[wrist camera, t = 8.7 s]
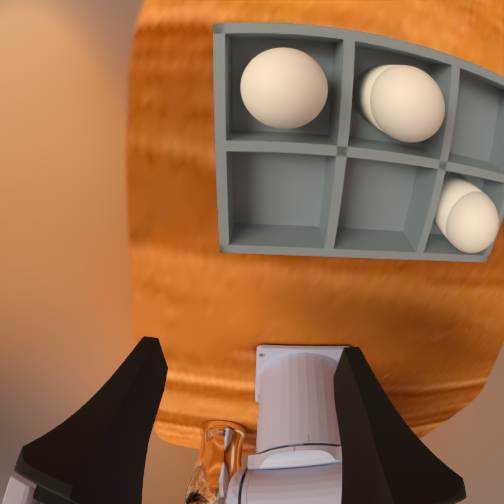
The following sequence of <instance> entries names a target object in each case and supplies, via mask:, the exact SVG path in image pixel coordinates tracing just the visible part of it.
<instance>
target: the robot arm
mask: <svg viewBox="0 0 504 504" xmlns="http://www.w3.org/2000/svg"><path fill="white" fill-rule="evenodd" d="M167 370H168V367H167V364H166V361H165V358H164V355H163V352H162V349H161V346H160V342H159V339H158V338H153V337H145V336H144V337H143V338H142V339H141V340H140V342H139V343H138V344H137V345H136V347H135V348H134V350H133V351H132V352H131V353H130V355H129V356H128V357H127V358H126V359H125V361H124V362H123V363H122V364H121V366H120V367H119V368H118V369H117V370H116V372H115V373H114V374H113V375H112V377H111V378H110V379H109V380H108V381H107V382H106V383H105V384H104V385H103V386H102V387H101V389H100V390H99V391H98V392H97V393H96V394H95V395H94V396H93V397H92V398H91V399H90V400H89V401H88V402H87V403H86V404H85V405H83V406H82V407H81V408H80V409H79V410H78V411H77V412H75V413H74V414H73V415H72V416H70V417H69V418H68V419H67V420H65V421H64V422H63V423H61V424H60V425H58V426H57V427H56V428H54V429H53V430H51V431H50V432H48V433H47V434H45V435H43V436H42V437H40V438H38V439H36V440H34V441H33V442H31V443H29V444H27V445H25V446H23V448H22V450H21V452H20V455H19V458H18V460H17V463H16V466H15V469H14V470H15V472H16V473H18V474H20V475H21V476H23V477H24V478H26V479H28V480H30V481H31V482H33V483H35V484H36V485H37V487H36V489H34V488H32V487H31V486H29V485H27V484H25V483H24V482H22V481H20V480H18V479H17V478H15V477H13V476H11V477H10V480H9V483H8V486H7V489H6V493H5V496H4V499H3V502H2V504H142V487H143V476H144V468H145V461H146V454H147V447H148V443H149V438H150V434H151V431H152V428H153V424H154V421H155V418H156V415H157V411H158V408H159V405H160V402H161V398H162V395H163V392H164V387H165V382H166V376H167ZM255 401H256V402H259V408H258V424H257V440H256V454H255V455H249V456H248V465H244V466H241V467H240V468H239V469H238V470H237V472H236V473H235V474H234V475H233V476H232V478H231V480H230V483H229V486H228V491H227V504H455V503H457V502H460V501H462V500H464V499H465V498H466V491H465V485H464V482H463V478H462V477H460V476H459V475H458V474H456V473H455V472H454V471H453V470H451V469H450V468H449V467H448V466H446V465H445V464H444V463H443V462H442V461H441V460H440V459H438V458H437V457H436V456H435V455H434V454H433V453H432V452H431V451H430V450H429V449H428V448H427V447H426V446H425V445H424V444H423V443H422V442H421V441H420V439H419V438H418V437H417V436H416V435H415V434H414V432H413V431H412V430H411V429H410V428H409V426H408V425H407V424H406V423H405V421H404V420H403V419H402V417H401V416H400V415H399V413H398V412H397V410H396V409H395V407H394V406H393V405H392V403H391V402H390V400H389V398H388V397H387V395H386V394H385V392H384V390H383V389H382V387H381V386H380V384H379V382H378V381H377V379H376V377H375V375H374V373H373V372H372V370H371V368H370V366H369V364H368V363H367V361H366V359H365V357H364V355H363V353H362V351H361V349H360V348H359V347H349V346H284V345H259V346H258V347H257V356H256V390H255Z"/></svg>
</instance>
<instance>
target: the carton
mask: <svg viewBox="0 0 504 504" xmlns="http://www.w3.org/2000/svg"><path fill="white" fill-rule="evenodd" d="M283 47H285V48H293V49H297V50H299V51H302V52H304V53H306V54H308V55H309V56H311V57H312V58H313V59H314V60H315V61H316V62H317V63H318V64H319V65H320V67H321V68H322V70H323V72H324V74H325V76H326V79H327V85H328V94H327V99H326V102H325V105H324V107H323V109H322V110H321V112H320V113H319V114H318V115H317V116H316V117H315V118H314V119H313V120H312V121H310V122H309V123H307V124H305V125H303V126H300V127H297V128H292V129H278V128H273V127H270V126H267V125H265V124H263V123H261V122H260V121H258V120H257V119H256V118H255V117H253V116H252V115H251V113H250V112H249V111H248V110H247V108H246V106H245V104H244V102H243V100H242V96H241V89H240V85H241V78H242V75H243V72H244V70H245V68H246V67H247V65H248V64H249V62H250V61H251V60H252V59H253V58H255V57H256V56H257V55H259V54H260V53H262V52H264V51H267V50H270V49H273V48H283ZM376 65H408V66H413V67H416V68H418V69H420V70H422V71H424V72H425V73H427V74H428V75H429V76H430V77H432V78H433V80H434V81H435V82H436V83H437V85H438V86H439V88H440V90H441V92H442V94H443V97H444V101H445V116H444V120H443V122H442V125H441V126H440V128H439V129H438V131H437V132H436V133H435V134H434V135H432V136H431V137H430V138H428V139H426V140H423V141H420V142H403V141H399V140H397V139H394V138H392V137H390V136H389V135H387V134H386V133H384V132H382V131H381V130H379V129H378V128H376V127H374V126H373V125H371V124H370V123H368V122H367V121H366V120H365V119H364V118H363V117H362V116H361V114H360V113H359V111H358V109H357V107H356V104H355V100H354V89H355V85H356V82H357V80H358V78H359V76H360V75H361V74H362V73H363V72H364V71H365V70H367V69H368V68H370V67H372V66H376ZM213 76H214V124H215V156H216V182H217V204H218V223H219V242H220V253H246V254H272V255H298V256H324V257H351V258H378V259H405V260H433V261H461V262H487V260H488V257H489V255H490V252H491V250H492V247H493V245H494V242H495V239H496V237H497V235H496V237H495V239H494V241H493V242H492V243H491V245H490V246H489V247H487V248H486V249H484V250H483V251H480V252H477V253H466V252H463V251H461V250H459V249H457V248H456V247H454V246H453V245H452V244H451V243H450V242H449V240H448V239H447V238H446V237H445V235H444V234H443V233H442V232H441V230H440V229H439V228H438V227H437V226H436V224H435V223H434V222H433V220H434V216H435V213H436V209H437V205H438V201H439V197H440V193H441V189H442V185H443V181H444V176H445V174H448V173H457V174H460V175H462V176H463V177H464V178H466V179H467V180H468V181H470V182H471V183H472V184H474V185H475V186H476V187H477V188H479V189H480V190H481V191H482V192H484V193H485V194H486V195H487V196H488V197H489V198H490V199H491V200H492V201H493V203H494V204H495V207H496V209H497V212H498V216H499V228H500V226H501V223H502V220H503V217H504V77H503V76H501V75H499V74H497V73H494V72H492V71H490V70H488V69H485V68H483V67H481V66H478V65H476V64H473V63H471V62H468V61H466V60H463V59H460V58H457V57H455V56H452V55H449V54H446V53H443V52H440V51H437V50H434V49H431V48H427V47H424V46H420V45H417V44H413V43H410V42H406V41H402V40H398V39H394V38H389V37H385V36H380V35H375V34H370V33H365V32H359V31H353V30H347V29H340V28H333V27H324V26H315V25H304V24H289V23H220V24H213ZM499 228H498V231H499ZM497 234H498V232H497Z"/></svg>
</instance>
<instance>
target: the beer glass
mask: <svg viewBox="0 0 504 504" xmlns="http://www.w3.org/2000/svg"><path fill="white" fill-rule="evenodd" d="M200 431H201V446H200V452H199V456H198V459H197V462H196V464H195V467H194V470H193V472H192V475H191V477H190V480H189V483H188V486H187V490H186V495H185V501H184V504H227V491H228V486H229V483H230V480H231V478H232V476H233V475H234V474H235V473H236V472H237V470H238V469H239V468H240V467H241V466H242V462H241V457H242V448H243V444H244V441H245V438H246V434H247V430H246V429H245V428H244V427H243V426H241V425H239V424H237V423H234V422H230V421H223V420H210V421H206V422H204V423H202V424H201V428H200Z"/></svg>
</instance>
